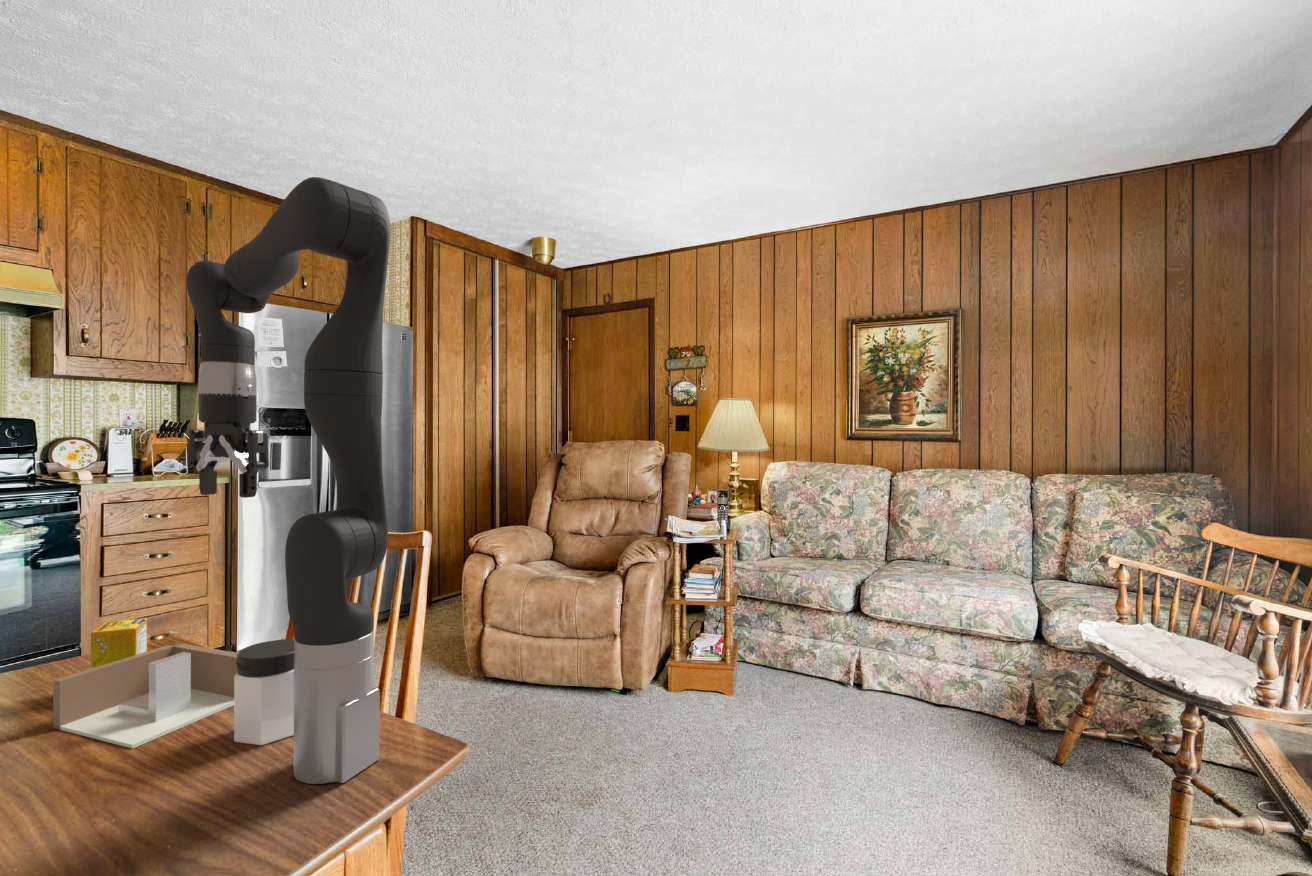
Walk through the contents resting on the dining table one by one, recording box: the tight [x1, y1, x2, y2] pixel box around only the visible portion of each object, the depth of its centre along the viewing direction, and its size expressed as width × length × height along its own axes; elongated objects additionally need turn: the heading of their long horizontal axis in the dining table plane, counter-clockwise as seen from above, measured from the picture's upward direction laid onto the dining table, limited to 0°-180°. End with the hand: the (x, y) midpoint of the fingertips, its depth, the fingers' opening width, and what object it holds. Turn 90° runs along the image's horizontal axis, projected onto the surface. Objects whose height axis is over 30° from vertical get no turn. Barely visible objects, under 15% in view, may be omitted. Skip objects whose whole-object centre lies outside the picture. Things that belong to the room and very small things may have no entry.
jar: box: [233, 639, 294, 746], centre depth 90 cm, size 9×8×12 cm
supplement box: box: [90, 617, 148, 669], centre depth 103 cm, size 6×6×11 cm
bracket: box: [119, 652, 191, 722], centre depth 95 cm, size 8×5×8 cm, turn 72°
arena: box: [52, 642, 239, 749], centre depth 95 cm, size 17×17×7 cm
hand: (227, 495), depth 98 cm, fingers open, 8 cm apart
